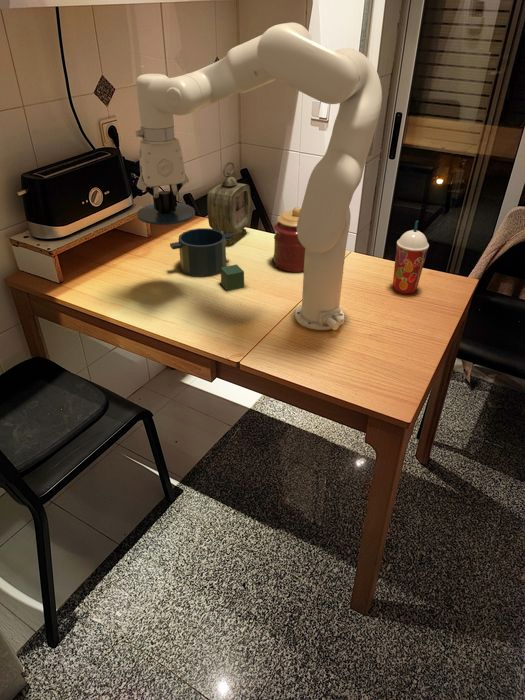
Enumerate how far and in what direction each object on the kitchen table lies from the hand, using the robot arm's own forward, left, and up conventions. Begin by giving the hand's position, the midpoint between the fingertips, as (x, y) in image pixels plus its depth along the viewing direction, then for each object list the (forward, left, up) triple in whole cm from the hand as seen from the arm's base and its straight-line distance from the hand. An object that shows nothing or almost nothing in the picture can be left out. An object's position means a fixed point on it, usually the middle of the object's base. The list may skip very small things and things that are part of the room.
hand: (166, 210), depth 131 cm
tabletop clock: (+28, -29, -23) cm, 47 cm away
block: (-4, -16, -23) cm, 29 cm away
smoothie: (-27, -59, -23) cm, 69 cm away
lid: (0, 0, -1) cm, 1 cm away
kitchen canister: (+1, -39, -23) cm, 46 cm away
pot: (+11, -13, -23) cm, 29 cm away
